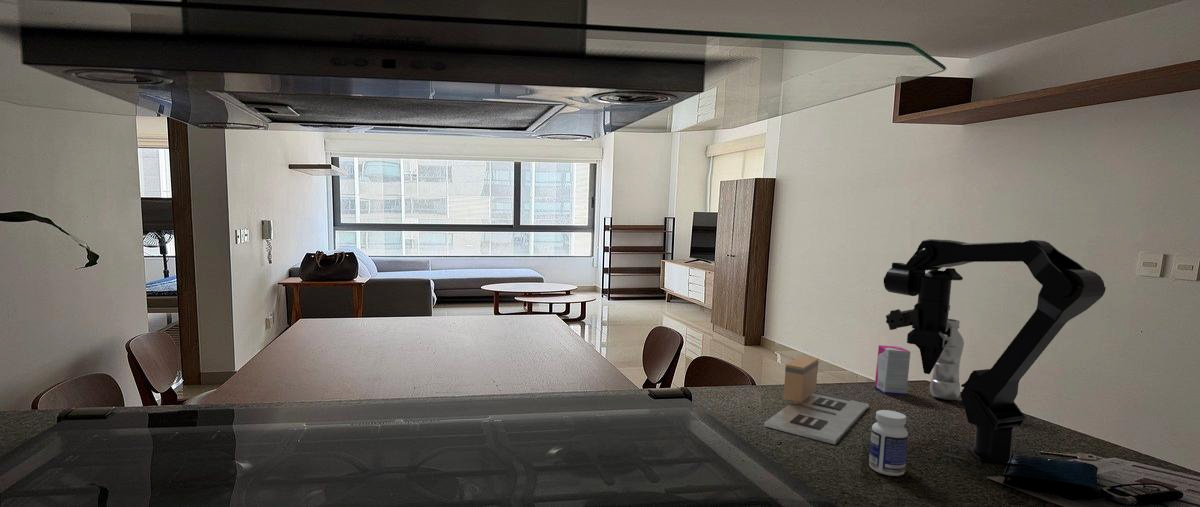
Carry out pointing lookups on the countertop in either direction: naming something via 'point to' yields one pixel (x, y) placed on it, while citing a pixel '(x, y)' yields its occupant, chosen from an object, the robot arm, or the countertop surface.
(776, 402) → the countertop surface
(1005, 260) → the robot arm
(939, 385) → the plastic bottle
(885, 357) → the supplement box
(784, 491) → the countertop surface
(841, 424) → the label panel
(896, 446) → the pill bottle
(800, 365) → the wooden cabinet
